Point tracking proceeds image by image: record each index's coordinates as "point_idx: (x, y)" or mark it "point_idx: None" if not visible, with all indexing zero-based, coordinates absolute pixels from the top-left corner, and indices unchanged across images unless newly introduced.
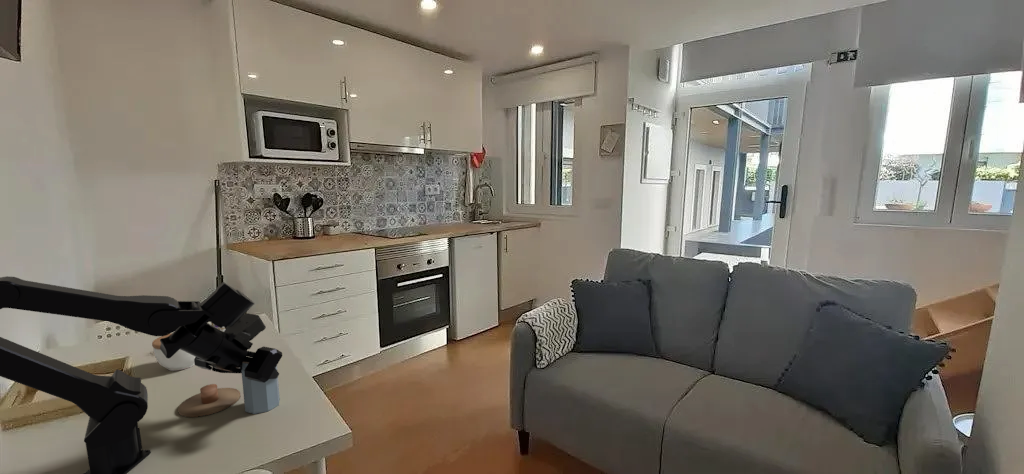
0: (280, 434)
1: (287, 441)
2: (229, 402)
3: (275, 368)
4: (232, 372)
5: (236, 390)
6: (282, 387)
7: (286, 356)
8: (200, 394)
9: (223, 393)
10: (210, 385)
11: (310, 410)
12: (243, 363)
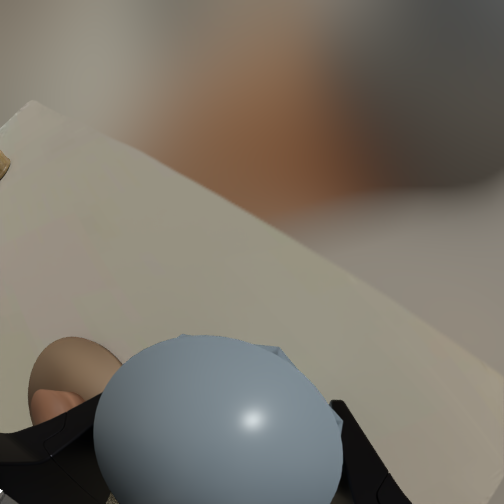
0: (431, 496)
1: (461, 499)
2: None
3: (373, 449)
4: (106, 498)
5: (97, 349)
6: (222, 287)
7: (117, 146)
8: (36, 379)
9: (77, 371)
10: (40, 398)
11: (436, 381)
12: (119, 494)
